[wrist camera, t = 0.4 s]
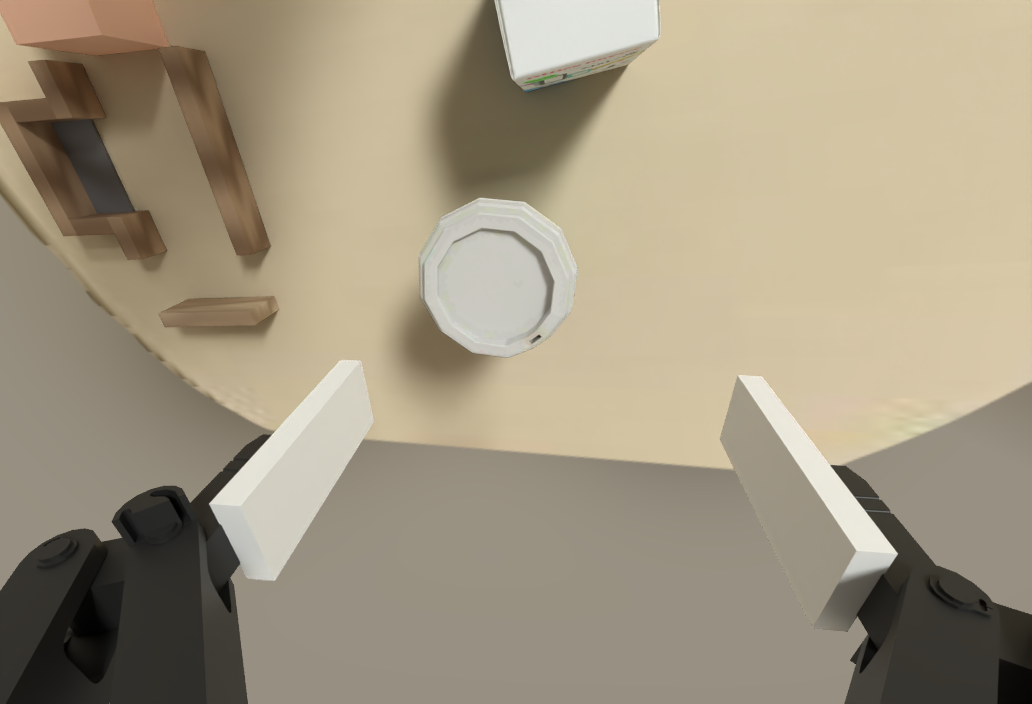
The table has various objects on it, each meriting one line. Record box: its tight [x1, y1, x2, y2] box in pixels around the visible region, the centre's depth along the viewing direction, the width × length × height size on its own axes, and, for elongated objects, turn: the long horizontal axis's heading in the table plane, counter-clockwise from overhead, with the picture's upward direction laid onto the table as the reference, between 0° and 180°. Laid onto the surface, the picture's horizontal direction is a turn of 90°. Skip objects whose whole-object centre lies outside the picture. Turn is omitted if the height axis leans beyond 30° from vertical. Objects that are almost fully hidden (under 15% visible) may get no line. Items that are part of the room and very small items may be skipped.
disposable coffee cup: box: [419, 198, 578, 358], centre depth 33 cm, size 11×11×15 cm
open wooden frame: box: [0, 46, 279, 327], centre depth 40 cm, size 23×18×4 cm
